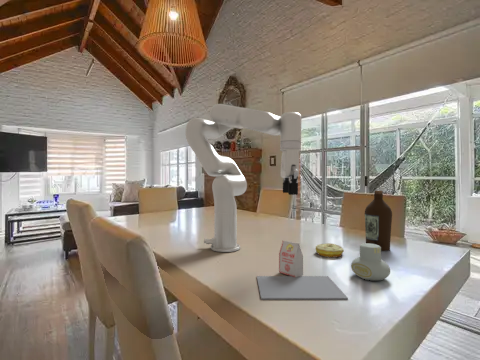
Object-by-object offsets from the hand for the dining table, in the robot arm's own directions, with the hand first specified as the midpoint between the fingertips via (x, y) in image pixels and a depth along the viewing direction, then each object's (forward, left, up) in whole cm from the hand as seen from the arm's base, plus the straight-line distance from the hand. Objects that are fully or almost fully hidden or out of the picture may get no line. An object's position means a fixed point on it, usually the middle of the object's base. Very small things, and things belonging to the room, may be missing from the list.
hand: (289, 193), depth 100 cm
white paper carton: (-2, -14, -25) cm, 29 cm away
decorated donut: (+18, +8, -25) cm, 32 cm away
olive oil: (+42, +17, -25) cm, 51 cm away
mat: (-2, -24, -25) cm, 35 cm away
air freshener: (+22, -17, -25) cm, 37 cm away
